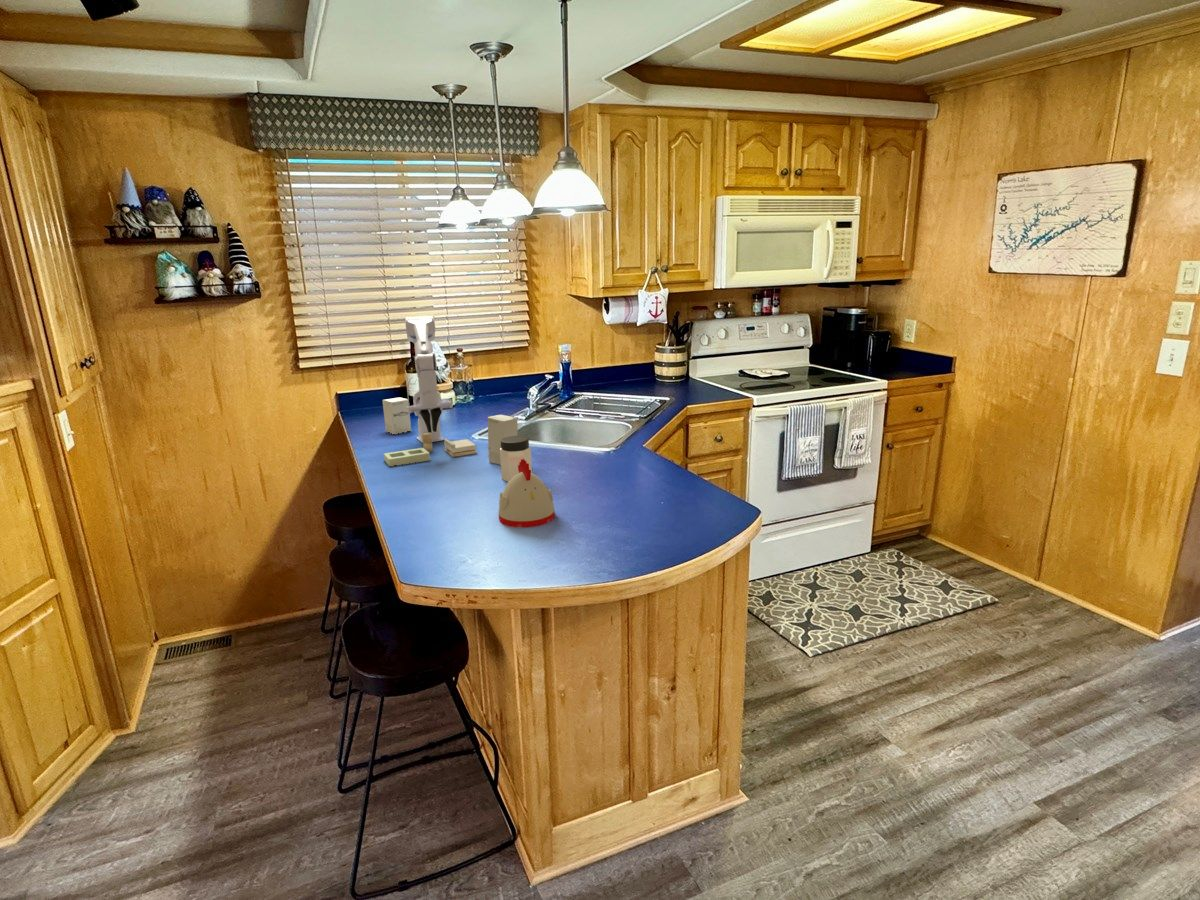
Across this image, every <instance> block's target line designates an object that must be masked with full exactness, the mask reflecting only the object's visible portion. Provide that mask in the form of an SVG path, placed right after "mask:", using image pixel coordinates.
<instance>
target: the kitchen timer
mask: <svg viewBox="0 0 1200 900" xmlns="http://www.w3.org/2000/svg"><path fill="white" fill-rule="evenodd" d="M518 471H519V473H518V474H516V475H515V476H514V477H513V478H512V479H511V480H510V481H509V482H507V484H506V485H505V487H504V490H503V492H501V491H500V493H499V500H498V504H499V506H498V520H499V523H501V524H502V525H504V526H507V527H512V528H522V529H524V528H534V527H539V526H543V525H546V524H548V523H550V522H552V521H553V520H554V519H555V506H554V505H555V504H554V498H553V493H552V490H551V488H549V489H548V488H547V486H546V485H545V483H544V481H543V480H541V479H540V477H538V476H537V475H536V474H534V473H533V472H532V473H531V470H529V463H527V462H526V461H525V459H521V462H519V465H518Z"/></svg>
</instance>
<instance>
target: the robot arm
mask: <svg viewBox="0 0 1200 900" xmlns="http://www.w3.org/2000/svg"><path fill="white" fill-rule="evenodd" d="M404 322H405V332H406V337H407V338H406V339H407V341H408V342H410V343H411V342H412V343H413V344H414V352H415V355H414V363H415V364H414V365H415V371H416V376H417V383H418V390H416V392H415V393H413V396H412V399H413V404H412V405H409V406H407V412H408V413H410V414H412V413H414V415H415V416H416V417H418V418H417V428H418V430H417V431H418V436H416V439H417V440H418V441H419V442H421V443H422V444H423V438H422V434H424V433H431V436H432V443H435V442H442V441H444V439H445V438H444V437H442V434H441V432H442V431H441V423H440V422H441V421H440V420H441V419H440V418H441V415H442V413H443V409H453V401H451V400H449V401H448V400H447V401H442V395H441V393H440V391H438V384H437V383H438V382H437V373H436V371H437V369H438V366H437V365H438V364H437V357H436V354H435V351H434V349H433V344H432V341H434V340H435V337H436V323H435V318H434V316H433V315H430V316H411V317H408V316H406V317H405V318H404Z"/></svg>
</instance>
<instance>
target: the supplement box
mask: <svg viewBox="0 0 1200 900" xmlns="http://www.w3.org/2000/svg"><path fill="white" fill-rule="evenodd" d="M407 406H410V403H409V399H408V398H403V397H399V396H398V397H394V398H387V399H382V409H383V417H384V428H385V432H386V431H387V432H386V433H388V432H390V433H389V434H391V433H392V434H391V435H393V434H395V435H398V433H399V434H403V433H402V432H404V433H408V432H407V431H411V432H412V426H411V425H412V424H411V416H410V415H411V413H408V412H407Z"/></svg>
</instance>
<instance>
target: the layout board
mask: <svg viewBox="0 0 1200 900" xmlns="http://www.w3.org/2000/svg"><path fill="white" fill-rule="evenodd" d="M444 451H445V452H446V453H448V454H449V455H450V456H451V457H452V458H454V457H456V458H457V457H461V456H466V455H474V454H477V450H476V449H474V450H468V451H462V452H455V453H452V452H451V451H450V450H448V449H447V448H446V447H444Z"/></svg>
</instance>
